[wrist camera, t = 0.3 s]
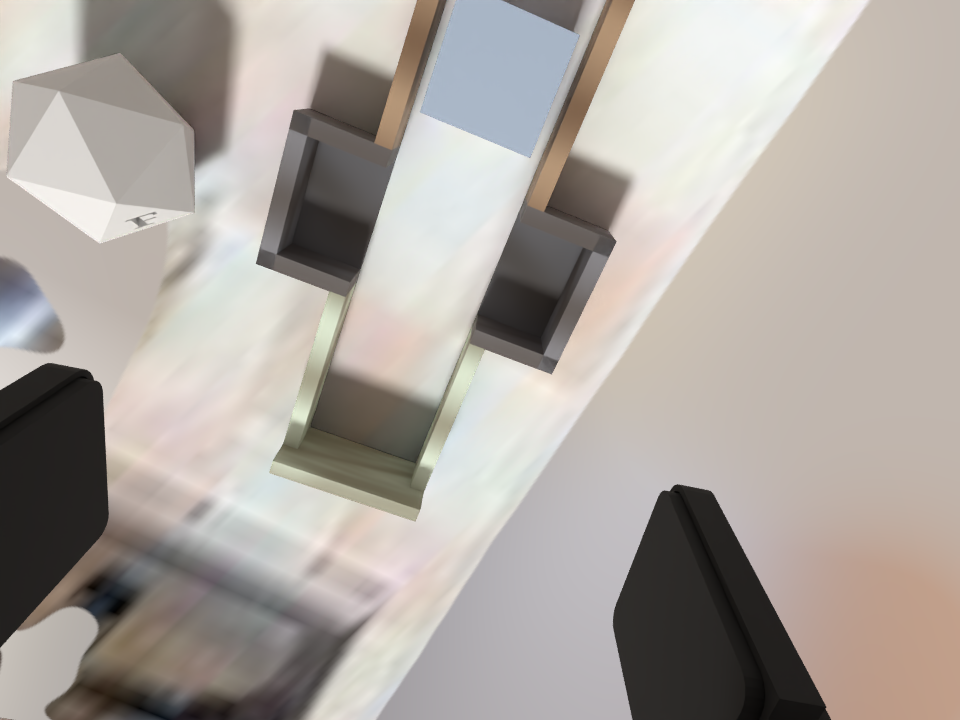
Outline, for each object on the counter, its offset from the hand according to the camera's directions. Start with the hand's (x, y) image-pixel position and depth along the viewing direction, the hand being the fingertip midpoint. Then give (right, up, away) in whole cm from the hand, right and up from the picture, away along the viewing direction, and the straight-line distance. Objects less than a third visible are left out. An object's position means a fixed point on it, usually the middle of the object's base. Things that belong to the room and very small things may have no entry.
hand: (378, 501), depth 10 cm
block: (+3, +18, +24) cm, 31 cm away
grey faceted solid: (-18, +15, +26) cm, 36 cm away
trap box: (-1, +10, +28) cm, 30 cm away
